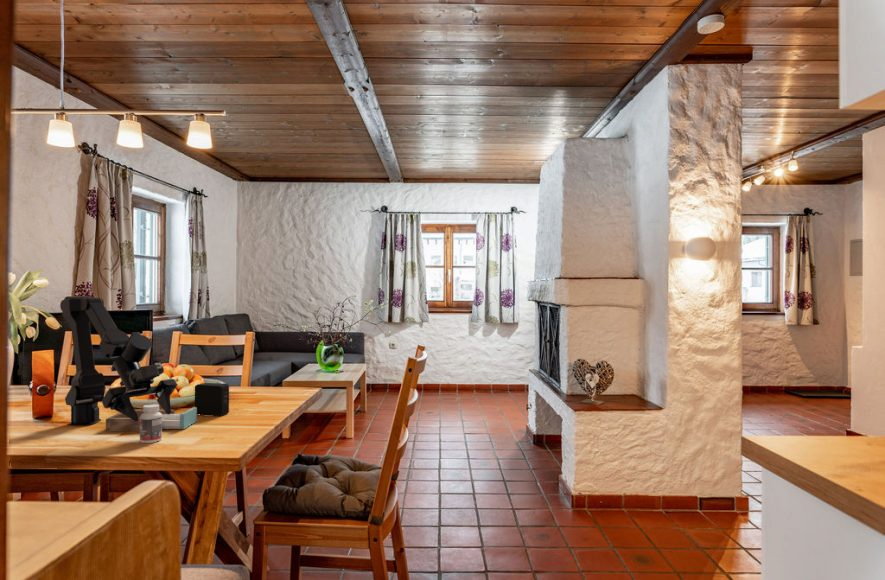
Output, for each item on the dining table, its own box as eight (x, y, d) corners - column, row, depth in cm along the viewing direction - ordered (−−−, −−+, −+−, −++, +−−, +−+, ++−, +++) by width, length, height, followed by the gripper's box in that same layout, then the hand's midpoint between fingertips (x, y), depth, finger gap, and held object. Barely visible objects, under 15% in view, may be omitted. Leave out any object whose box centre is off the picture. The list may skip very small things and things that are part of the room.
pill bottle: (135, 442, 149) (135, 406, 149) (152, 437, 154) (152, 402, 154) (149, 444, 147) (149, 408, 147) (166, 439, 152) (166, 404, 152)
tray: (138, 429, 161) (138, 414, 161) (153, 421, 170) (153, 407, 170) (184, 429, 162) (184, 414, 162) (196, 421, 171) (196, 407, 171)
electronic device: (221, 416, 178) (221, 386, 178) (194, 414, 180) (194, 384, 180) (229, 413, 182) (229, 383, 182) (202, 412, 184) (202, 382, 184)
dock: (105, 431, 159) (105, 418, 159) (127, 421, 171) (127, 409, 171) (156, 431, 160) (156, 418, 160) (174, 421, 172) (174, 409, 172)
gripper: (108, 358, 144) (132, 404, 138) (173, 351, 160) (197, 392, 155) (91, 384, 148) (114, 431, 143) (157, 375, 164) (180, 416, 159)
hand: (153, 416), depth 149 cm, fingers open, 9 cm apart
